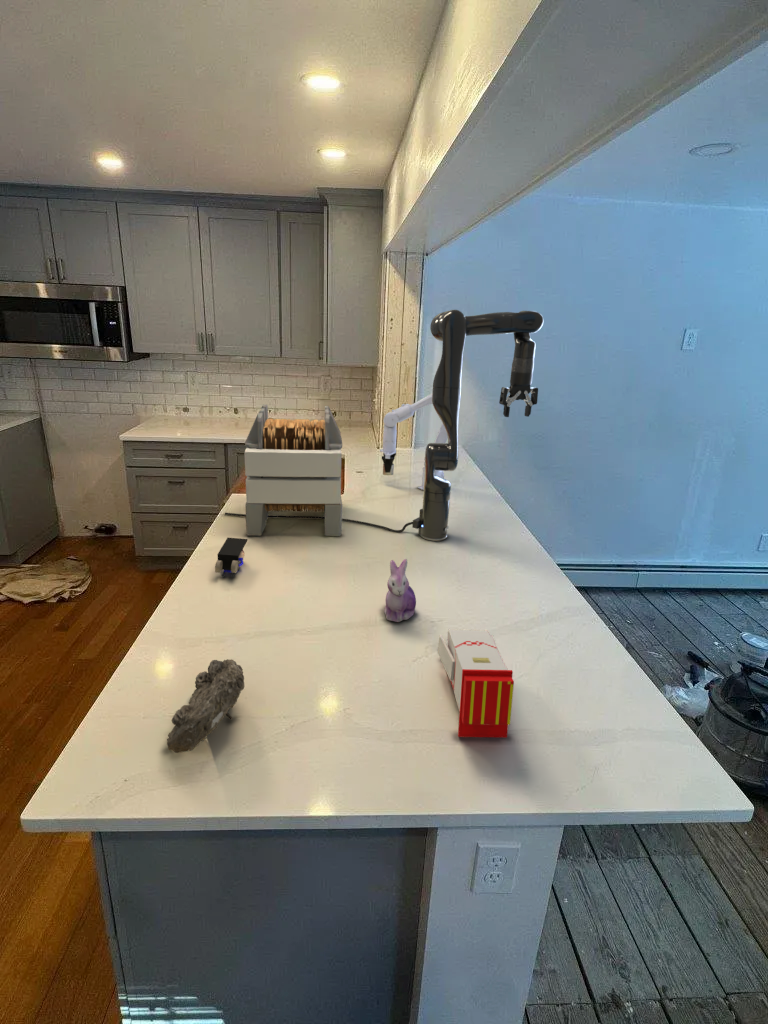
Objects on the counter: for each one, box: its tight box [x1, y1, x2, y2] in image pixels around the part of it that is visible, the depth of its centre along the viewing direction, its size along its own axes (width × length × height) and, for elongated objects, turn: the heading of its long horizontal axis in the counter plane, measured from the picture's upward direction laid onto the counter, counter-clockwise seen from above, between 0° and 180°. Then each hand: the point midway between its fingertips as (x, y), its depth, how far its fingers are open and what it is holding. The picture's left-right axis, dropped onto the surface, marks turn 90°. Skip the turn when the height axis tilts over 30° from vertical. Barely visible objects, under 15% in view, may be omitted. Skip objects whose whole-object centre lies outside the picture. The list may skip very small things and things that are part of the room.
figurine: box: [384, 558, 417, 623], centre depth 145 cm, size 9×10×15 cm
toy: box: [437, 628, 515, 738], centre depth 117 cm, size 12×13×30 cm
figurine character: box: [214, 537, 248, 578], centre depth 166 cm, size 7×8×15 cm
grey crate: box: [244, 404, 343, 537], centre depth 202 cm, size 34×33×41 cm
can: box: [382, 462, 395, 477], centre depth 250 cm, size 5×5×4 cm
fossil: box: [166, 658, 245, 754], centre depth 106 cm, size 22×10×15 cm
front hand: (516, 416), depth 205 cm, fingers open, 8 cm apart
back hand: (388, 470), depth 250 cm, fingers closed on can, 5 cm apart
